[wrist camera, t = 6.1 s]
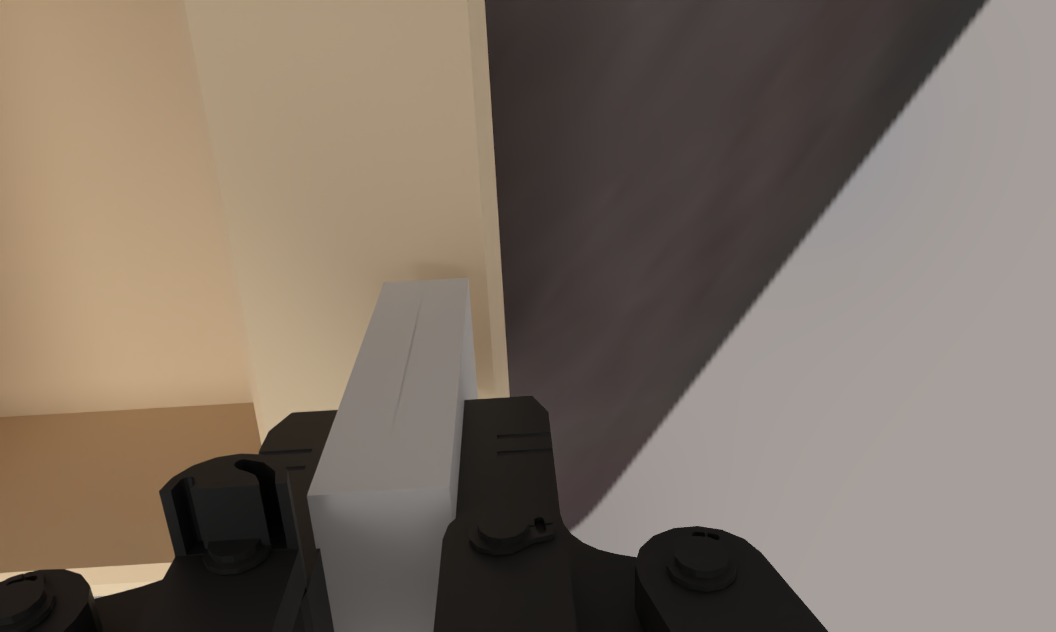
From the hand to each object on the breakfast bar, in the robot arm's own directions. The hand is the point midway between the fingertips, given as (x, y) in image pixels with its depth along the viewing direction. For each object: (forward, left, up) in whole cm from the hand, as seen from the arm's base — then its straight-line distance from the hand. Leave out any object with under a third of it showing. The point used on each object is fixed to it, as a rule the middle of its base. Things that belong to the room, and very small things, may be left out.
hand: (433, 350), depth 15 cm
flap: (0, -5, -5) cm, 7 cm away
